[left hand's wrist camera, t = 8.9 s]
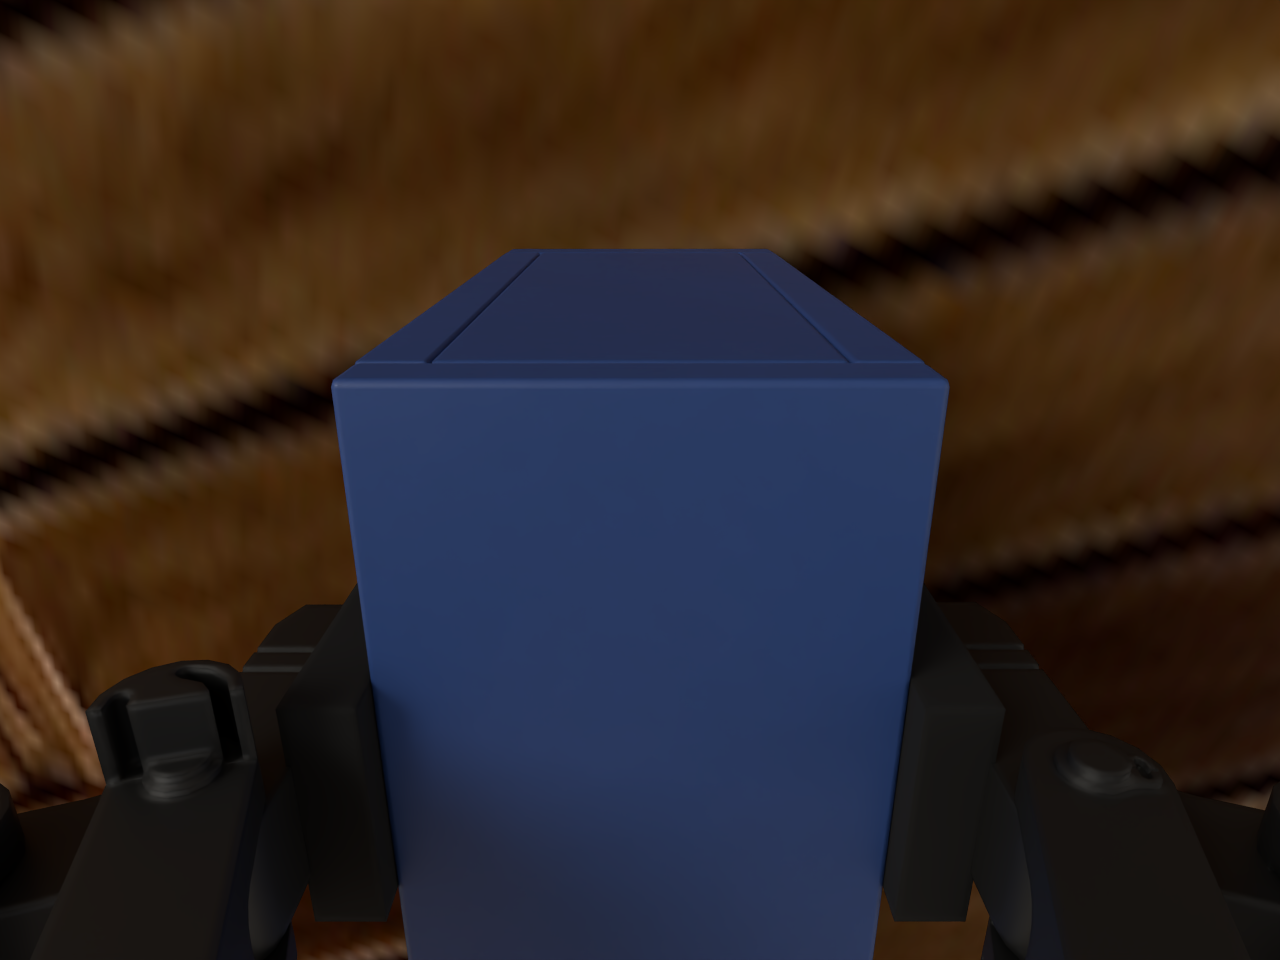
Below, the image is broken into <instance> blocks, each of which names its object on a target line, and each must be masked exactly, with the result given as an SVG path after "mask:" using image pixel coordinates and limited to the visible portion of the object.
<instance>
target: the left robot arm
mask: <svg viewBox="0 0 1280 960" xmlns="http://www.w3.org/2000/svg"><path fill="white" fill-rule="evenodd" d="M1038 665H1039V664H1038V663H1037V662H1036V660H1035V659H1034V658H1033V657H1032V655H1031V654H1030V653H1029V651H1028V650H1024V645H1023V644H1022V642H1021V641H1020V640H1019V638H1018V637H1017V636H1016V634H1015V633H1014V632H1013V631H1012V629H1011V628H1010V627H1009V625H1008V624H1007V623H1006V622H1005V621H1004V620H1002V619H1000V618H999V617H997V616H996V615H994V614H993V613H991V612H990V611H988V610H987V609H985V608H984V607H982V606H980V605H979V604H977V603H976V602H936V601H935V600H934V598H933V597H932V595H931V594H930V592H929V591H928V589H927V588H926V586H925V584H924V583H923V588H922V596H921V603H920V611H919V618H918V625H917V633H916V640H915V648H914V655H913V663H912V670H911V677H910V684H909V692H908V699H907V707H906V714H905V721H904V729H903V736H902V744H901V751H900V759H899V766H898V774H897V781H896V788H895V796H894V803H893V811H892V818H891V826H890V833H889V841H888V848H887V855H886V863H885V870H884V878H883V888H884V891H885V894H886V897H887V900H888V903H889V906H890V909H891V912H892V915H893V918H894V921H966V915H967V910H968V905H969V900H970V894H971V889H972V884H973V880H974V882H975V885H976V887H977V889H978V891H979V893H980V896H981V898H982V900H983V902H984V904H985V907H986V909H987V911H988V913H989V915H990V917H989V922H988V927H987V931H986V936H985V941H984V946H983V951H982V956H981V960H1280V782H1279V783H1277V784H1276V785H1275V786H1273V789H1272V792H1271V795H1270V798H1269V801H1268V804H1267V807H1266V810H1260V809H1256V808H1251V807H1246V806H1241V805H1237V804H1232V803H1227V802H1223V801H1218V800H1213V799H1209V798H1204V797H1199V796H1195V795H1192V794H1188V793H1184V792H1181V791H1177V790H1176V787H1175V785H1174V783H1173V782H1172V780H1171V779H1170V778H1169V776H1168V775H1167V773H1166V772H1165V771H1164V769H1163V768H1162V767H1161V765H1160V764H1158V763H1157V762H1156V761H1154V760H1153V759H1152V758H1150V757H1149V756H1148V755H1146V754H1145V753H1144V752H1142V751H1141V750H1140V749H1138V748H1136V747H1134V746H1132V745H1130V744H1128V743H1126V742H1124V741H1122V740H1119V739H1117V738H1115V737H1113V736H1111V735H1107V734H1103V733H1099V732H1095V731H1091V730H1089V729H1088V728H1087V727H1086V725H1085V724H1084V723H1083V721H1082V720H1081V719H1080V717H1079V716H1078V715H1077V714H1076V712H1075V711H1074V710H1073V708H1072V707H1071V706H1070V704H1069V703H1068V702H1067V701H1066V699H1065V698H1064V697H1063V695H1062V694H1061V693H1060V692H1059V690H1058V689H1057V688H1056V686H1055V685H1054V684H1053V682H1052V681H1051V680H1050V679H1049V677H1048V676H1047V675H1046V673H1045V672H1044V671H1043V669H1039V667H1038ZM86 716H87V719H88V723H89V726H90V730H91V733H92V737H93V740H94V743H95V747H96V750H97V754H98V757H99V761H100V764H101V768H102V771H103V775H104V778H105V782H106V787H105V789H104V791H103V793H102V795H99V796H95V797H92V798H88V799H84V800H80V801H75V802H70V803H66V804H61V805H56V806H52V807H47V808H42V809H38V810H33V811H28V812H24V813H19V814H17V812H16V809H15V806H14V803H13V800H12V798H11V795H10V792H9V790H8V789H7V788H6V787H4V786H3V785H2V784H0V960H297V950H296V943H295V936H294V931H293V927H292V922H291V920H292V917H293V915H294V913H295V911H296V908H297V906H298V904H299V902H300V900H301V897H302V895H303V893H304V891H305V889H306V886H307V884H309V890H310V895H311V900H312V906H313V911H314V916H315V921H387V918H388V915H389V912H390V909H391V906H392V903H393V900H394V897H395V894H396V890H397V887H398V877H397V870H396V863H395V855H394V848H393V840H392V833H391V826H390V818H389V811H388V803H387V796H386V788H385V781H384V774H383V766H382V759H381V751H380V744H379V736H378V729H377V722H376V714H375V707H374V699H373V692H372V685H371V677H370V670H369V663H368V656H367V648H366V641H365V633H364V626H363V619H362V611H361V604H360V596H359V589H358V583H357V584H356V586H355V587H354V589H353V590H352V592H351V594H350V595H349V597H348V598H347V600H346V601H345V603H344V604H343V605H305V606H303V607H302V608H300V609H299V610H297V611H296V612H294V613H293V614H291V615H290V616H288V617H287V618H285V619H284V620H282V621H280V622H279V623H277V624H276V625H275V626H274V627H273V629H272V630H271V631H270V633H269V634H268V635H267V637H266V638H265V639H264V640H263V642H262V643H261V644H260V646H259V647H258V652H257V653H254V654H253V655H252V656H251V657H250V659H249V660H248V661H247V663H246V664H245V665H244V667H243V672H238V671H237V670H235V669H234V668H233V667H231V666H230V665H229V664H225V663H220V662H215V661H211V660H193V661H179V662H175V663H170V664H166V665H162V666H157V667H153V668H150V669H148V670H145V671H143V672H140V673H138V674H135V675H133V676H130V677H128V678H126V679H123V680H122V681H120V682H119V683H117V684H116V685H114V686H113V687H111V688H110V689H108V690H106V691H105V692H103V693H102V694H100V695H99V696H98V698H97V699H96V700H95V701H94V702H93V703H92V705H91V706H90V707H89V708H88V709H87V710H86Z"/></svg>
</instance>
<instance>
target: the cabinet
mask: <svg viewBox="0 0 1280 960" xmlns="http://www.w3.org/2000/svg"><path fill="white" fill-rule="evenodd" d="M331 389H332V396H333V404H334V411H335V418H336V426H337V433H338V441H339V448H340V455H341V463H342V470H343V478H344V485H345V493H346V500H347V507H348V515H349V522H350V530H351V537H352V544H353V552H354V559H355V567H356V574H357V582H358V589H359V596H360V604H361V611H362V619H363V626H364V633H365V641H366V648H367V656H368V663H369V670H370V677H371V685H372V692H373V699H374V707H375V714H376V722H377V729H378V736H379V744H380V751H381V759H382V766H383V774H384V781H385V788H386V796H387V803H388V811H389V818H390V826H391V833H392V840H393V848H394V855H395V863H396V870H397V877H398V886H399V893H400V900H401V908H402V915H403V923H404V930H405V937H406V945H407V952H408V960H873V953H874V945H875V938H876V931H877V923H878V916H879V908H880V901H881V893H882V886H883V878H884V870H885V863H886V855H887V848H888V841H889V833H890V826H891V818H892V811H893V803H894V796H895V788H896V781H897V774H898V766H899V759H900V751H901V744H902V736H903V729H904V721H905V714H906V707H907V699H908V692H909V684H910V677H911V670H912V663H913V655H914V648H915V640H916V633H917V625H918V618H919V611H920V603H921V596H922V588H923V581H924V573H925V566H926V559H927V551H928V544H929V536H930V529H931V521H932V514H933V506H934V499H935V492H936V484H937V477H938V469H939V462H940V454H941V447H942V439H943V432H944V425H945V417H946V410H947V402H948V395H949V383H948V380H947V379H946V378H944V377H943V376H942V375H940V374H939V373H937V372H936V371H935V370H933V369H932V368H931V367H929V366H927V365H925V364H924V361H922V360H921V359H920V358H918V357H917V356H916V355H914V354H913V353H911V352H910V351H909V350H907V349H906V348H904V347H903V346H902V345H900V344H899V343H898V342H896V341H895V340H893V339H892V338H891V337H889V336H888V335H887V334H885V333H884V332H882V331H881V330H880V329H878V328H877V327H876V326H874V325H873V324H871V323H870V322H869V321H867V320H866V319H864V318H863V317H862V316H860V315H859V314H858V313H856V312H855V311H853V310H852V309H851V308H849V307H848V306H847V305H845V304H844V303H842V302H841V301H840V300H838V299H837V298H835V297H834V296H833V295H831V294H830V293H829V292H827V291H826V290H824V289H823V288H822V287H820V286H819V285H818V284H816V283H815V282H813V281H812V280H811V279H809V278H808V277H806V276H805V275H804V274H802V273H801V272H800V271H798V270H797V269H795V268H794V267H793V266H791V265H790V264H789V263H787V262H786V261H784V260H783V259H782V258H780V257H779V256H777V255H776V254H775V253H773V252H771V251H770V250H768V249H513V250H511V251H510V252H508V253H506V254H504V255H503V256H501V257H500V258H499V259H497V260H496V261H494V262H493V263H492V264H490V265H489V266H488V267H486V268H485V269H483V270H482V271H481V272H479V273H478V274H476V275H475V276H474V277H472V278H471V279H470V280H468V281H467V282H465V283H464V284H463V285H461V286H460V287H458V288H457V289H456V290H454V291H453V292H452V293H450V294H449V295H447V296H446V297H445V298H443V299H442V300H440V301H439V302H438V303H436V304H435V305H434V306H432V307H431V308H429V309H428V310H427V311H425V312H424V313H423V314H421V315H420V316H418V317H417V318H416V319H414V320H413V321H411V322H410V323H409V324H407V325H406V326H405V327H403V328H402V329H400V330H399V331H398V332H396V333H395V334H393V335H392V336H391V337H389V338H388V339H387V340H385V341H384V342H382V343H381V344H380V345H378V346H377V347H375V348H374V349H373V350H371V351H370V352H369V353H367V354H366V355H364V356H363V357H362V358H360V359H359V360H357V361H356V363H355V365H354V366H352V367H351V368H349V369H348V370H346V371H345V372H344V373H342V374H341V375H340V376H338V377H337V378H335V379H334V380H333V383H332V386H331Z"/></svg>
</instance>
